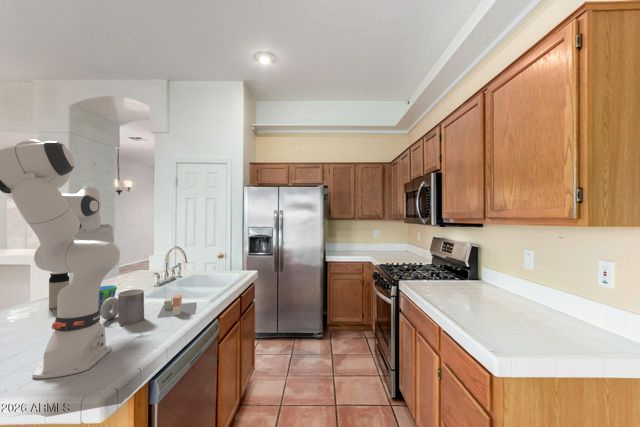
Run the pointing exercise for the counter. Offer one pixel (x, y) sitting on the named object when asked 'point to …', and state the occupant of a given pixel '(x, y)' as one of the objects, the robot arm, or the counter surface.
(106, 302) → the donut
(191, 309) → the baseplate
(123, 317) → the pillar candle
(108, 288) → the snack cup
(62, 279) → the travel mug
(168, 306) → the sage brick
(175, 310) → the cream brick
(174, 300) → the terracotta brick
